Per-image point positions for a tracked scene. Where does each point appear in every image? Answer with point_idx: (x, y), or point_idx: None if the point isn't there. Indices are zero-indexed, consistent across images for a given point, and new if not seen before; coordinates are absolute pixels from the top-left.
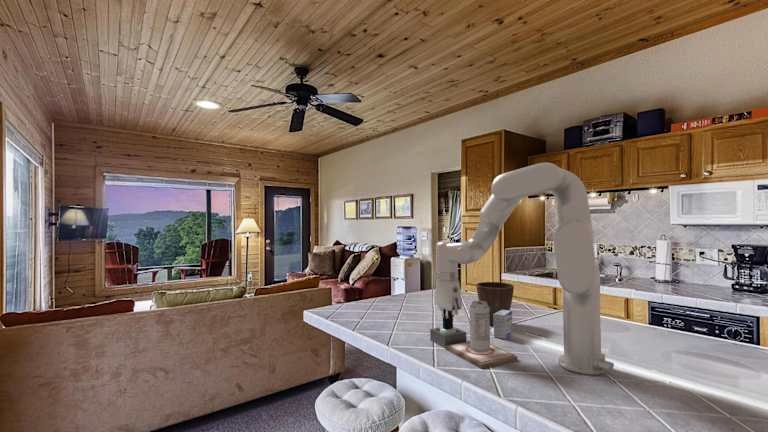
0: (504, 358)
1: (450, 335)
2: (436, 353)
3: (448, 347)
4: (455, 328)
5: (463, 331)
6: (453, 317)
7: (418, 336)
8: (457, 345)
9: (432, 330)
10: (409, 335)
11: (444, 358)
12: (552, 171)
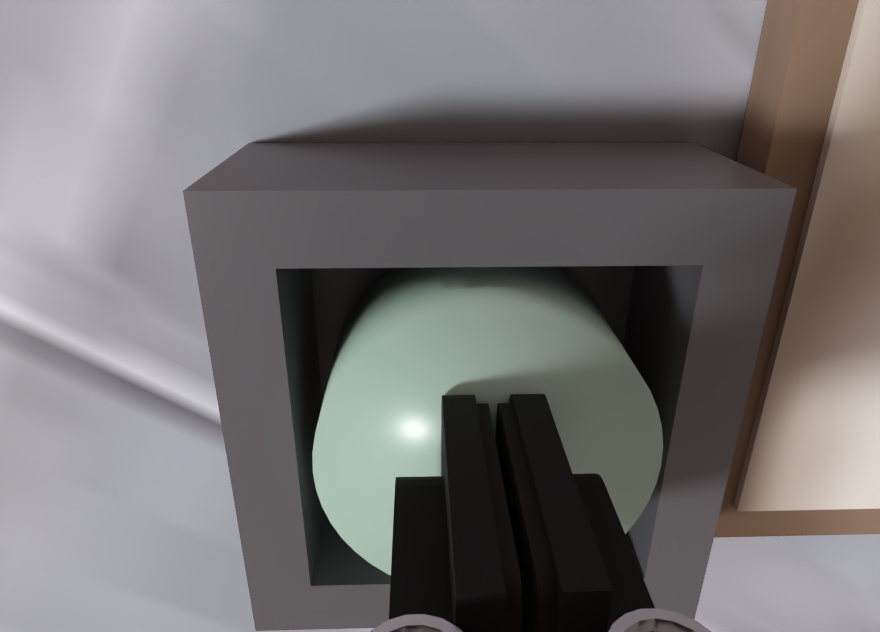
0: None
1: (711, 525)
2: (705, 625)
3: (756, 533)
4: (567, 337)
5: (720, 215)
6: (688, 618)
7: (81, 548)
8: (814, 433)
9: (330, 623)
10: (8, 614)
11: (858, 624)
12: None
